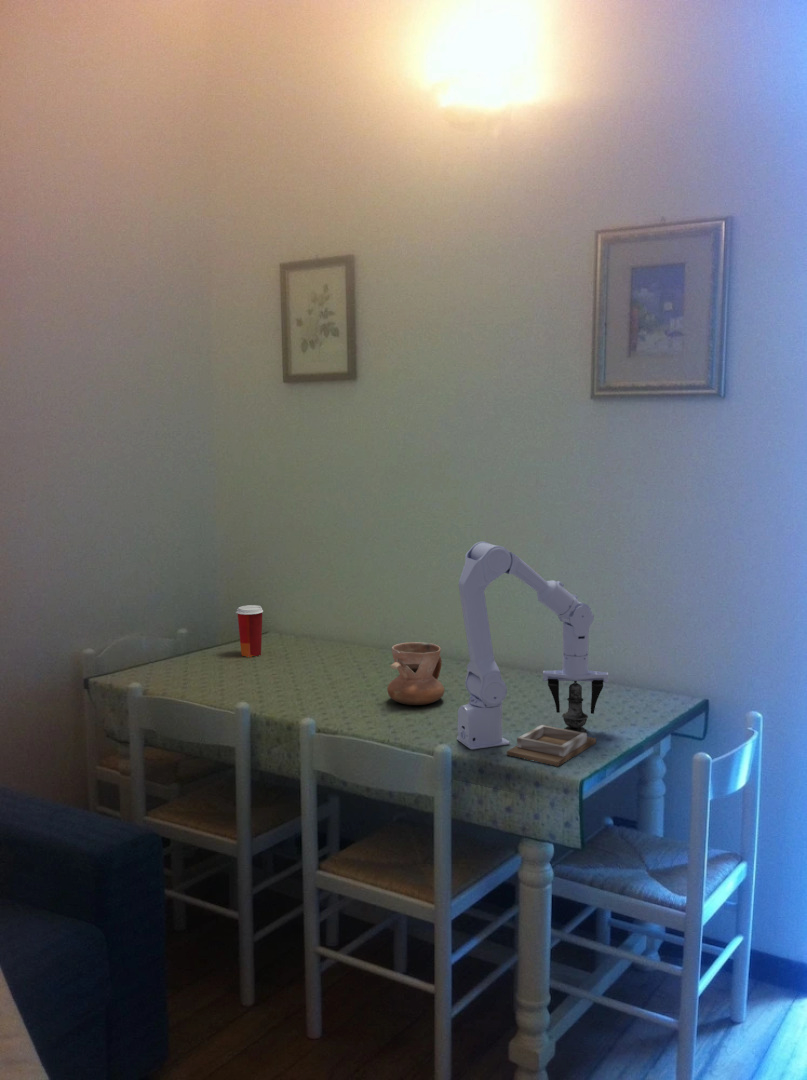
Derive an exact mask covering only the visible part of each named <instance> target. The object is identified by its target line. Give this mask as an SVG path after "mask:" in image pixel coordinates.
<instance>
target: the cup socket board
mask: <svg viewBox="0 0 807 1080" xmlns="http://www.w3.org/2000/svg"><path fill="white" fill-rule="evenodd" d="M516 741H517V742H516V744H517V745H516V746H513V747H512V748H510V749H507V751H506V756H507V755H510V756H509V757H511V756H516V757H520V758H525V759H528V760H527V761H529V760H534V761H538V762H542V763H541V764H543V763H546V764H545V765H548V764H551V765H550V766H552V765H555V766H554V767H557V766H558V767H560V766H561V764H562V765H563V764H564V762H565V761H566V762H568V761H569V759H570V760H572V759H573V758H574V757H576V756H577V755H579V754H581V753H582V752H584V751H585V750H587V749H588V748H590V747H591V745H592V746H593V745H595V744H597V738H596V737H591V736H588V732H586V733H582V732H577V731H572V730H567V729H564V728H560V727H556V726H555V727H554V726H550V725H546V724H540V725H538V726H536V727H535V728H533V729H531V730H529V731H528V732H526V733H524V734H522V735H520V736H518V737H517V738H516ZM572 757H573V758H572ZM520 758H519V759H520ZM525 759H524V760H525ZM567 760H568V761H567ZM534 761H533V762H534ZM538 762H537V763H538ZM566 762H565V763H566ZM559 765H560V766H559Z"/></svg>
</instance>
